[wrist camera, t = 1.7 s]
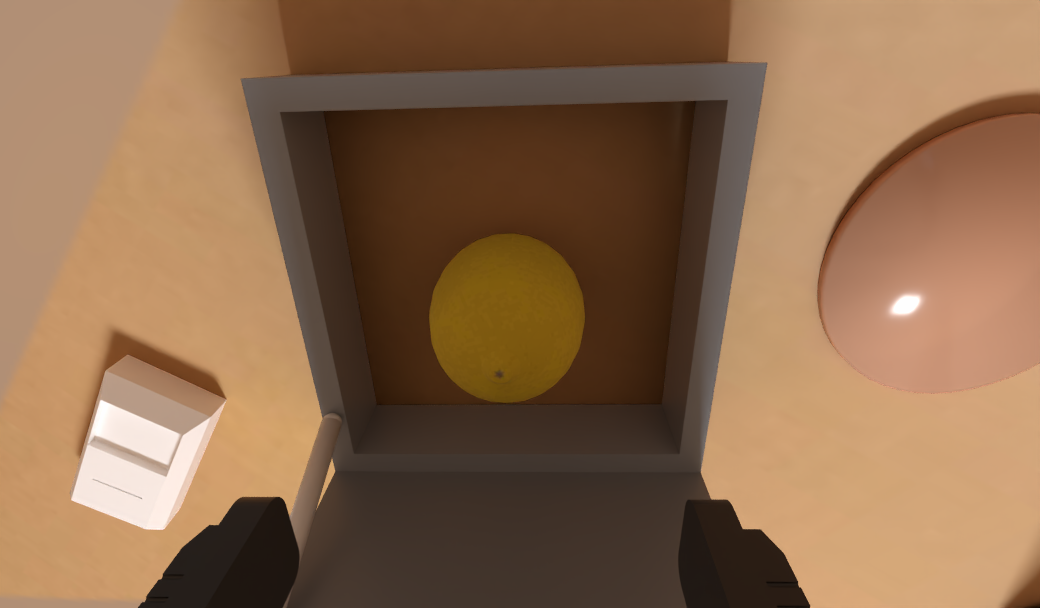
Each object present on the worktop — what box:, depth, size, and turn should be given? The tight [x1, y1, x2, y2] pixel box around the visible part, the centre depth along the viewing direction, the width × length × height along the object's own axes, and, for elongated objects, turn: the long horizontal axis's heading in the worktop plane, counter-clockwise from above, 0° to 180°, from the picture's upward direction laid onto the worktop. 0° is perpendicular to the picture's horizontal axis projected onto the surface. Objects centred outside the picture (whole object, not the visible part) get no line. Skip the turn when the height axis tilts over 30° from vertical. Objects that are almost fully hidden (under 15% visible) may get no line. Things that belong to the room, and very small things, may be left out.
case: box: [241, 62, 767, 608], centre depth 14 cm, size 17×16×20 cm
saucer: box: [818, 113, 1040, 394], centre depth 21 cm, size 12×12×1 cm
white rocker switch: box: [70, 354, 227, 530], centre depth 26 cm, size 5×9×3 cm, turn 149°
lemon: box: [429, 233, 585, 403], centre depth 19 cm, size 6×6×8 cm
